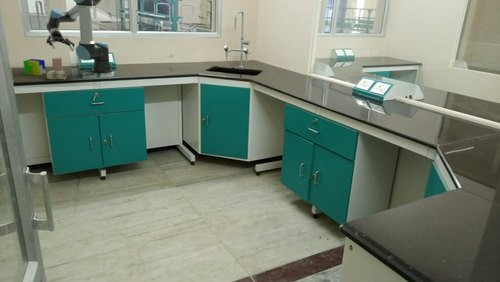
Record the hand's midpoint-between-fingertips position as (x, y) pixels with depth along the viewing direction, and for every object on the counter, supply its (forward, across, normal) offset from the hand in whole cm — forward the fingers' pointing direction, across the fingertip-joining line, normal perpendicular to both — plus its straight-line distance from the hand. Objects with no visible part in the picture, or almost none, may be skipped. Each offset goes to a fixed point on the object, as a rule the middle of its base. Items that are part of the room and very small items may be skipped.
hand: (63, 48), depth 288 cm
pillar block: (+7, +2, -18) cm, 20 cm away
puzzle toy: (0, +16, -24) cm, 29 cm away
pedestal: (+20, +7, -14) cm, 26 cm away
